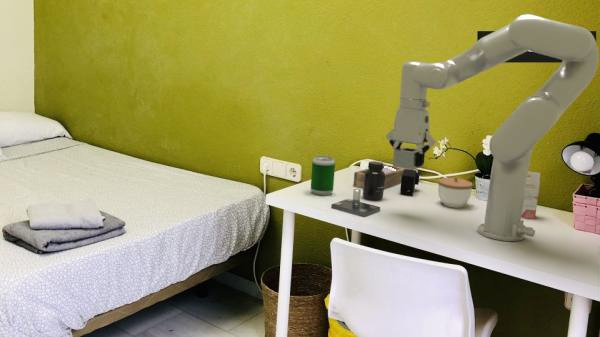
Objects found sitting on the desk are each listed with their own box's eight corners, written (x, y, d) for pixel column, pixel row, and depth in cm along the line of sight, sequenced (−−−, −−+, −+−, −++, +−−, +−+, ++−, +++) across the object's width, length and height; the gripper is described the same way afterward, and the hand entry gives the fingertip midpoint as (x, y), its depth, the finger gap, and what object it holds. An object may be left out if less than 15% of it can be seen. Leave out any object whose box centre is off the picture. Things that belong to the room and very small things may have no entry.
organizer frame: (404, 181, 222) (406, 168, 221) (376, 191, 207) (377, 177, 206) (382, 176, 228) (383, 163, 227) (353, 186, 212) (354, 172, 211)
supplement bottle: (382, 202, 195) (385, 166, 192) (361, 199, 196) (364, 164, 193) (383, 196, 201) (387, 161, 199) (363, 194, 203) (366, 159, 200)
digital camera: (415, 197, 203) (418, 177, 202) (399, 195, 205) (401, 175, 203) (418, 189, 213) (420, 170, 212) (402, 187, 214) (404, 168, 213)
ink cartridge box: (535, 215, 190) (542, 170, 187) (534, 219, 186) (541, 173, 182) (506, 211, 193) (513, 166, 190) (505, 215, 189) (512, 169, 185)
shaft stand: (379, 210, 185) (381, 191, 184) (364, 217, 178) (366, 197, 177) (347, 202, 192) (348, 183, 191) (331, 207, 185) (332, 188, 184)
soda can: (333, 196, 198) (335, 161, 195) (310, 195, 198) (312, 159, 195) (332, 190, 205) (335, 156, 202) (310, 189, 205) (312, 154, 202)
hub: (423, 166, 180) (424, 149, 179) (412, 169, 175) (414, 152, 174) (403, 162, 184) (404, 146, 183) (392, 166, 179) (394, 149, 178)
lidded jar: (452, 198, 204) (455, 171, 202) (476, 207, 195) (480, 179, 193) (429, 202, 198) (432, 174, 196) (453, 211, 189) (457, 182, 187)
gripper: (445, 106, 174) (440, 167, 177) (392, 100, 184) (389, 158, 188) (434, 108, 168) (429, 171, 172) (380, 102, 178) (376, 161, 182)
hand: (408, 163), depth 180 cm, fingers closed on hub, 6 cm apart
